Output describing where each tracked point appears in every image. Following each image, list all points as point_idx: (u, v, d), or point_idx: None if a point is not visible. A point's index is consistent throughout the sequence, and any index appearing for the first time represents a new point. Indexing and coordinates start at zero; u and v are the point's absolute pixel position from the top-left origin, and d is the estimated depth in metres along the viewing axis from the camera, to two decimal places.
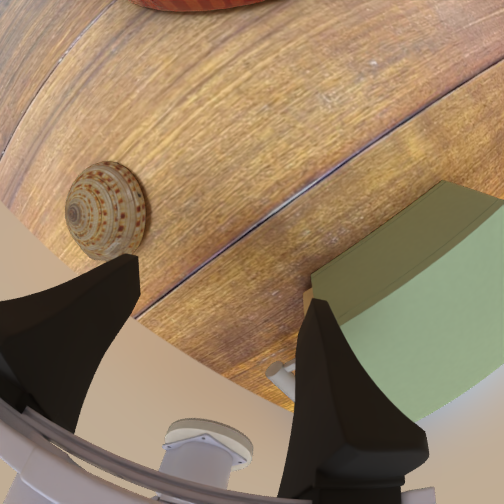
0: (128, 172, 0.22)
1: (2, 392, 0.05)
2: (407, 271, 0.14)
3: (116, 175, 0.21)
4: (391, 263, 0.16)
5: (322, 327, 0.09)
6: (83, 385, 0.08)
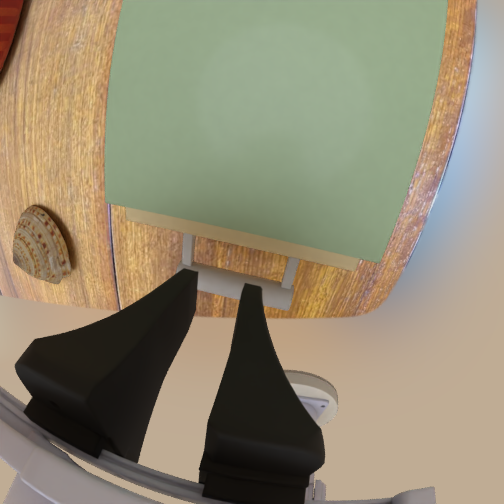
0: (32, 207, 0.23)
1: (72, 438, 0.05)
2: None
3: (25, 215, 0.23)
4: None
5: (242, 310, 0.09)
6: (148, 412, 0.08)
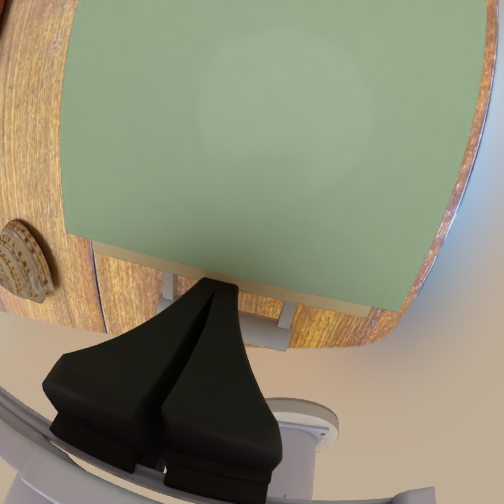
0: (13, 221, 0.21)
1: (106, 454, 0.05)
2: None
3: (6, 230, 0.20)
4: None
5: (214, 303, 0.09)
6: None
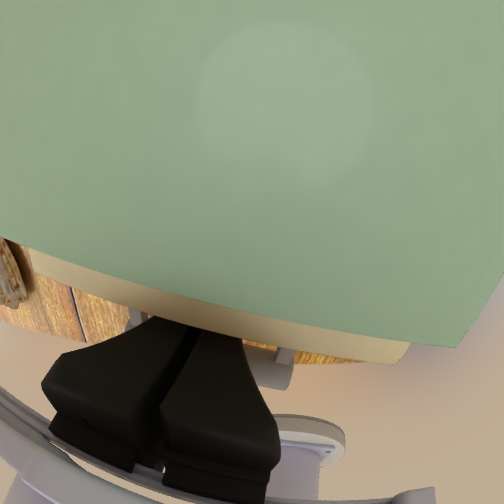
0: None
1: (104, 454, 0.05)
2: None
3: None
4: None
5: None
6: None
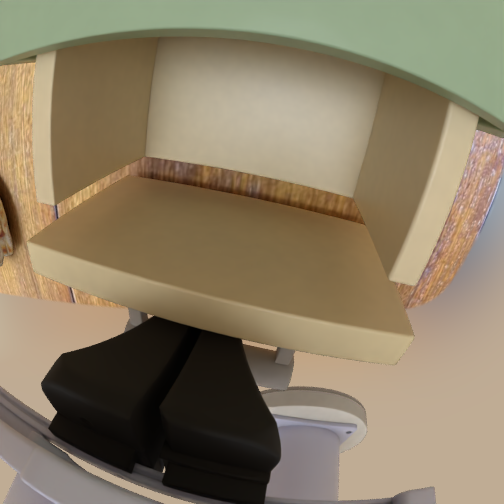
0: None
1: (104, 454, 0.05)
2: None
3: None
4: None
5: None
6: None
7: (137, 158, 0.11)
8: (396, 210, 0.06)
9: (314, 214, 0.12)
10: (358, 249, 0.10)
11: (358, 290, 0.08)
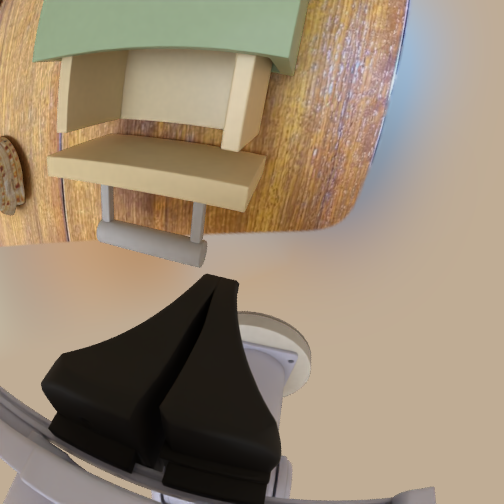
0: None
1: (104, 454, 0.05)
2: None
3: None
4: None
5: (213, 303, 0.09)
6: None
7: (115, 118, 0.16)
8: None
9: None
10: (242, 161, 0.16)
11: (223, 170, 0.13)
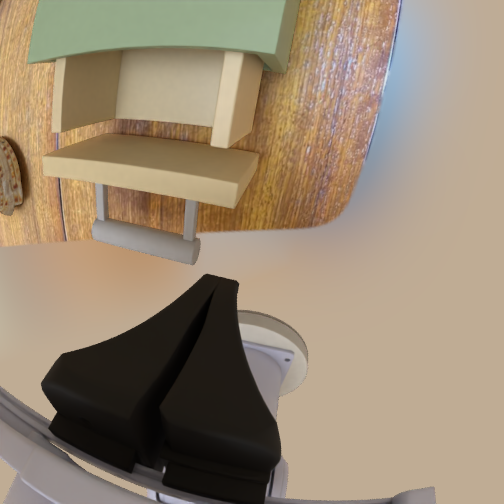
0: None
1: (104, 454, 0.05)
2: None
3: None
4: None
5: (213, 303, 0.09)
6: None
7: (109, 118, 0.16)
8: None
9: (217, 146, 0.18)
10: (234, 158, 0.16)
11: (214, 168, 0.13)
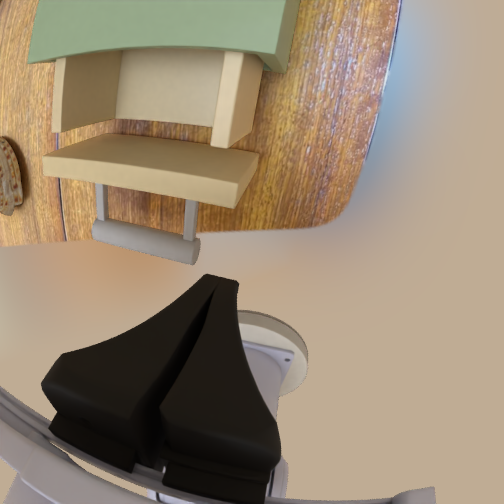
0: None
1: (104, 454, 0.05)
2: None
3: None
4: None
5: (213, 303, 0.09)
6: None
7: (109, 118, 0.16)
8: None
9: (217, 146, 0.18)
10: (234, 158, 0.16)
11: (214, 168, 0.13)
